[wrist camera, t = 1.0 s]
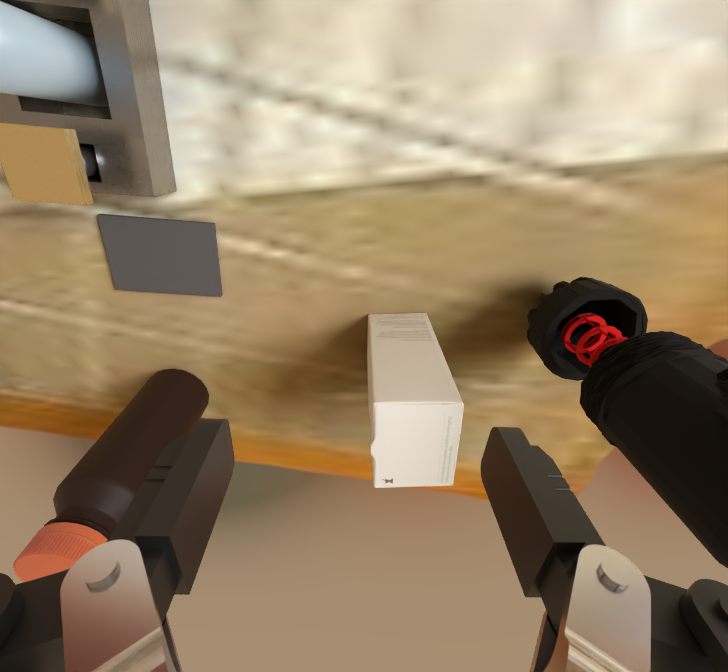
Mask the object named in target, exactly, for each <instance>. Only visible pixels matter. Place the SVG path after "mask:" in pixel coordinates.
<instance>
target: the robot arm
mask: <svg viewBox="0 0 728 672" xmlns="http://www.w3.org/2000/svg"><path fill="white" fill-rule="evenodd" d="M233 468H234V451H233V445H232V439H231V433H230V427H229V422H228V420H227V419H205V418H201V419H199V420H198V421H197V423H196V425H195V427H194V428H193V430H192V432H191V434H190V436H179V437H177V438H176V439H175V440H174V441H173V442H172V443H170V444H169V445H168V446H167V447H166V448H165V449H163V451H162V453H161V454H160V456H159V457H158V459H157V461H156V462H155V464H154V467H153V469H151V471H150V472H149V474H148V476H147V477H146V479H145V483H143V484H142V485H141V487H140V489H139V490H138V492H137V494H136V495H135V497H134V499H133V500H132V502H131V504H130V505H129V507H128V508H127V510H126V512H125V513H124V515H123V517H122V518H121V520H120V522H119V523H118V525H117V527H116V528H115V530H114V531H113V533H112V535H111V536H110V538H109V539H108V540H107V541H106V543H103V544H101V545H98V546H96V547H95V548H93V549H91V550H90V551H88V552H87V553H85V554H84V555H83V556H82V557H81V558H79V559H78V560H77V561H76V562H75V563H74V565H73V566H72V567H71V568H70V569H67V570H64V571H61V572H58V573H55V574H51V575H48V576H44V577H41V578H38V579H34V580H31V581H27V582H24V583H20V584H17V585H15V583H14V582H13V581H12V580H11V578H10V577H9V576H7V575H5V574H2V573H0V672H183V671H182V668H181V664H180V660H179V657H178V653H177V650H176V646H175V643H174V639H173V636H172V632H171V628H170V625H169V621H168V617H167V611H168V609H169V606H170V603H171V601H172V598H173V596H174V594H190V591H191V588H192V585H193V583H194V580H195V577H196V574H197V572H198V569H199V566H200V563H201V560H202V558H203V555H204V552H205V549H206V546H207V543H208V541H209V538H210V535H211V533H212V530H213V527H214V524H215V521H216V519H217V516H218V513H219V510H220V507H221V505H222V502H223V499H224V496H225V493H226V491H227V488H228V485H229V482H230V480H231V477H232V473H233ZM481 477H482V482H483V485H484V487H485V490H486V493H487V495H488V498H489V501H490V503H491V506H492V509H493V511H494V514H495V517H496V519H497V522H498V525H499V528H500V530H501V533H502V536H503V538H504V541H505V544H506V546H507V549H508V552H509V554H510V557H511V560H512V562H513V565H514V568H515V571H516V573H517V576H518V579H519V581H520V584H521V587H522V589H523V592H524V595H525V597H541V598H542V600H543V602H544V605H545V608H546V610H545V612H544V615H543V618H542V622H541V626H540V630H539V635H538V639H537V643H536V647H535V651H534V655H533V659H532V663H531V668H530V672H728V586H727V585H725V584H723V583H721V582H717V581H714V580H710V579H700V580H697V581H695V582H694V583H693V584H692V585H691V586H690V587H689V589H688V590H687V589H684V588H681V587H678V586H675V585H672V584H668V583H665V582H662V581H659V580H656V579H653V578H650V577H647V576H645V575H643V574H642V573H641V572H640V570H639V569H638V568H637V567H636V566H635V565H634V564H633V563H632V562H631V561H630V560H629V559H628V558H626V557H625V556H624V555H622V554H621V553H619V552H617V551H615V550H613V549H611V548H609V547H607V546H606V545H605V544H604V542H603V541H602V539H601V538H600V536H599V534H598V532H597V531H596V529H595V528H594V526H593V524H592V523H591V521H590V519H589V518H588V516H587V515H586V513H585V511H584V510H583V508H582V506H581V505H580V503H579V502H578V500H577V498H576V497H575V495H574V493H573V492H572V491H570V487H569V485H568V484H567V482H566V480H565V479H564V478H562V474H561V472H560V471H559V469H558V467H557V466H556V464H555V462H554V461H553V459H552V458H551V457H549V456H548V455H547V454H546V453H545V452H544V451H543V450H542V449H541V448H540V447H538V446H531V445H530V444H529V442H528V440H527V438H526V437H525V435H524V433H523V432H522V430H521V429H520V428H510V427H493V428H492V430H491V432H490V435H489V438H488V441H487V445H486V448H485V451H484V454H483V458H482V461H481Z"/></svg>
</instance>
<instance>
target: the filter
mask: <svg viewBox="0 0 728 672" xmlns="http://www.w3.org/2000/svg"><path fill="white" fill-rule="evenodd" d="M539 298H541V299H542V302H541V304H540V305H539V307H538V308H535V309H532V310H530V311H529V313H528V316H527V317H528V321H529V322H530V325H529V329H528V330H527V338H528V341H529V343H530V344H531V345H532V346H533V348H534V349H535V351H536V353H537V354H538V355H539V357H540V358H541V359H542V361H543V363H544V365H545V366H546V367H547V368H548V369H549V370H550V371H551V372H552V373H553V374H555V375H557V376H559V377H561V378H564V379H570V380H577V381H578V380H583V381H582V383H581V397H580V404H581V406H582V408H583V410H584V411H585V413H586V416H587V417H588V418H589V419H591V421H592V422H593V423H594V424H595V425H596V426H597V427H598V429H599V430H600V431H601V432H602V435H603V436H604V437H605V438H606V439H607V441H608V442H609V443H610V444H611V445H614V446H616V447H617V448H618V449H619V450H620V451H621V452H622V453H623V454H624V456H625V457H626V458H627V459H628V460H629V461H630V462H631V464H632V465H633V466H634V467H635V468H636V469H637V470H638V472H639V473H640V474H641V475H642V476H643V477H644V478H645V480H646V481H647V482H648V483H649V484H650V485H651V486H652V487H653V489H654V490H655V491H656V492H657V493H658V494H659V495H660V497H661V498H662V499H663V500H664V501H665V502H666V503H667V504H668V506H669V507H670V508H671V509H672V510H673V511H674V512H675V514H676V515H677V516H678V517H679V518H680V519H681V520H682V522H683V523H684V524H685V525H686V526H687V527H688V528H689V530H690V531H691V532H692V533H693V534H694V535H695V536H696V538H697V539H698V540H699V541H700V542H701V543H702V544H703V545H704V546H705V548H706V549H707V550H708V551H709V552H710V553H711V554H712V556H713V557H714V558H715V559H716V560H717V561H718V562H719V563H720V564H722V565H724V566H725V567H727V568H728V361H727V360H726V359H725V358H723V357H720V356H718V355H716V354H714V353H713V352H712V351H711V350H709V349H705V348H704V347H703V345H702V344H697V343H695V342H693V341H691V339H690V338H688V337H685V336H682V335H679V334H676V333H673V332H664V331H659V332H649V333H646V329H647V322H648V319H647V314H646V311H645V309H644V306H643V304H642V303H641V301H640V299H639V298H637V297H635V296H634V295H632V294H630V293H628V292H626V291H624V290H621V289H619V288H617V287H615V286H613V285H611V284H607V283H605V282H602V281H598V280H595V279H593V278H587V277H580V278H577V279H575V280H573V281H572V282H571V283H568V282H565V281H562V282H559V283H557V284H556V285H554V288H553V292H552V293H551V294H549V295H548V296H545V295H544V294H541V295H540V296H539Z"/></svg>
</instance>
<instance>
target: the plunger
mask: <svg viewBox="0 0 728 672" xmlns="http://www.w3.org/2000/svg"><path fill="white" fill-rule="evenodd" d="M0 161H1V164H2V167H3V170H4V173H5V176H6V179H7V181H8V184H9V187H10V190H11V193H12V196H13V199H14V200H26V201H38V202H50V203H62V204H75V205H88V204H92V203H94V202H93V198H92V194H91V190H90V186H89V182H88V178H87V177H91V176H95V175H97V174H98V173H99V172H100V171H99V167H98V163H97V158H96V154H95V153H94V152H93V151H91V150H90V149H88V148H85V147H79V143H78V139H77V135H76V131H75V129H66V128H56V127H45V126H35V125H24V124H14V123H3V122H0Z"/></svg>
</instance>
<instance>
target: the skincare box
mask: <svg viewBox="0 0 728 672" xmlns="http://www.w3.org/2000/svg"><path fill="white" fill-rule="evenodd" d="M367 371H368V404H369V421H370V439H371V455H372V469H373V484H374V487H375V488H385V487H412V486H448V485H453V480H454V473H455V467H456V460H457V453H458V446H459V439H460V432H461V425H462V417H463V409H464V403H463V402H462V399H461V397H460V394H459V392H458V390H457V387H456V385H455V382H454V380H453V377H452V375H451V372H450V370H449V367H448V365H447V363H446V360H445V358H444V355H443V353H442V350H441V348H440V345H439V343H438V340H437V338H436V335H435V333H434V331H433V328H432V326H431V323H430V321H429V318H428V316H427V314H426V313H400V314H369V315H368V340H367Z"/></svg>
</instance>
